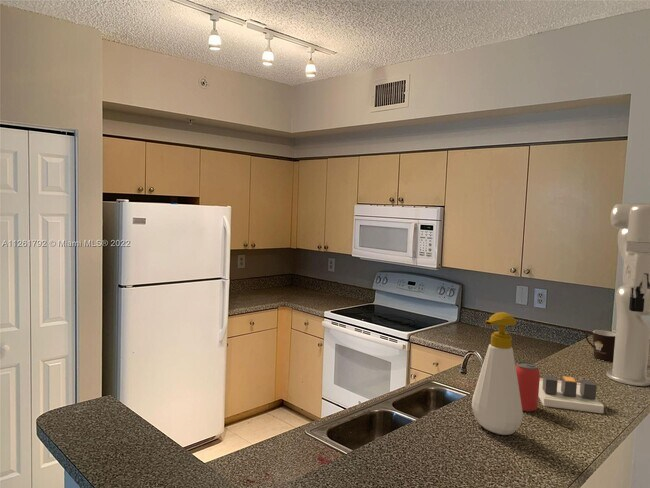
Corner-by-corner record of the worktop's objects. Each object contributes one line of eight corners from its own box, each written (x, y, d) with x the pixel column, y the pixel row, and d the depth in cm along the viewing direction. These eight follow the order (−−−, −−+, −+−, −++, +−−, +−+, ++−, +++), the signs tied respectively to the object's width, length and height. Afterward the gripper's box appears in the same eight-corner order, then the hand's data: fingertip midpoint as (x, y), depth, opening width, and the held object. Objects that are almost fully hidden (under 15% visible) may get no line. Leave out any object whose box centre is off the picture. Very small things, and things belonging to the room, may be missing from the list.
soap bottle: (457, 425, 118) (464, 309, 116) (482, 415, 124) (489, 306, 122) (504, 447, 108) (513, 320, 106) (528, 435, 114) (537, 316, 112)
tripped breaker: (560, 390, 139) (562, 376, 139) (572, 391, 138) (573, 377, 138) (564, 395, 135) (565, 380, 135) (575, 396, 134) (577, 381, 134)
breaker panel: (532, 383, 150) (533, 364, 150) (584, 389, 147) (585, 369, 146) (543, 405, 133) (545, 383, 132) (603, 413, 129) (605, 390, 129)
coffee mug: (621, 363, 176) (624, 336, 175) (598, 362, 176) (600, 335, 175) (604, 353, 187) (606, 328, 187) (582, 352, 188) (584, 327, 187)
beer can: (539, 413, 127) (543, 369, 126) (513, 410, 129) (517, 367, 128) (534, 404, 134) (537, 362, 133) (509, 401, 135) (512, 359, 134)
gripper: (618, 245, 145) (613, 304, 147) (635, 249, 131) (629, 315, 132) (647, 246, 143) (641, 307, 144) (667, 251, 129) (660, 318, 130)
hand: (636, 310), depth 138 cm, fingers closed
